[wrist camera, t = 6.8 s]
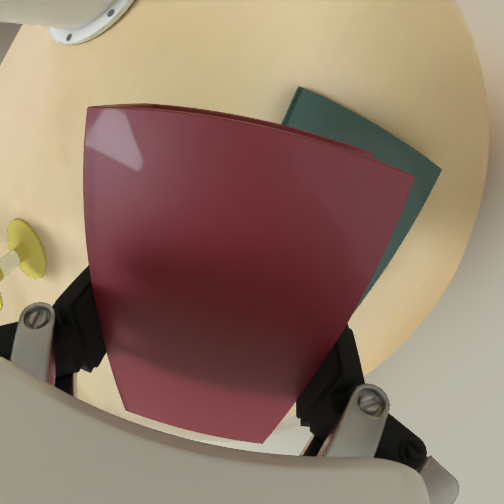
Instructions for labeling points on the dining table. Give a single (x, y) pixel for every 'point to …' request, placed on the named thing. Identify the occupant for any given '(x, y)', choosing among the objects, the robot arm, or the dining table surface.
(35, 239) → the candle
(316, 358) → the burgundy book
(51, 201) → the dining table surface
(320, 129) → the green book
